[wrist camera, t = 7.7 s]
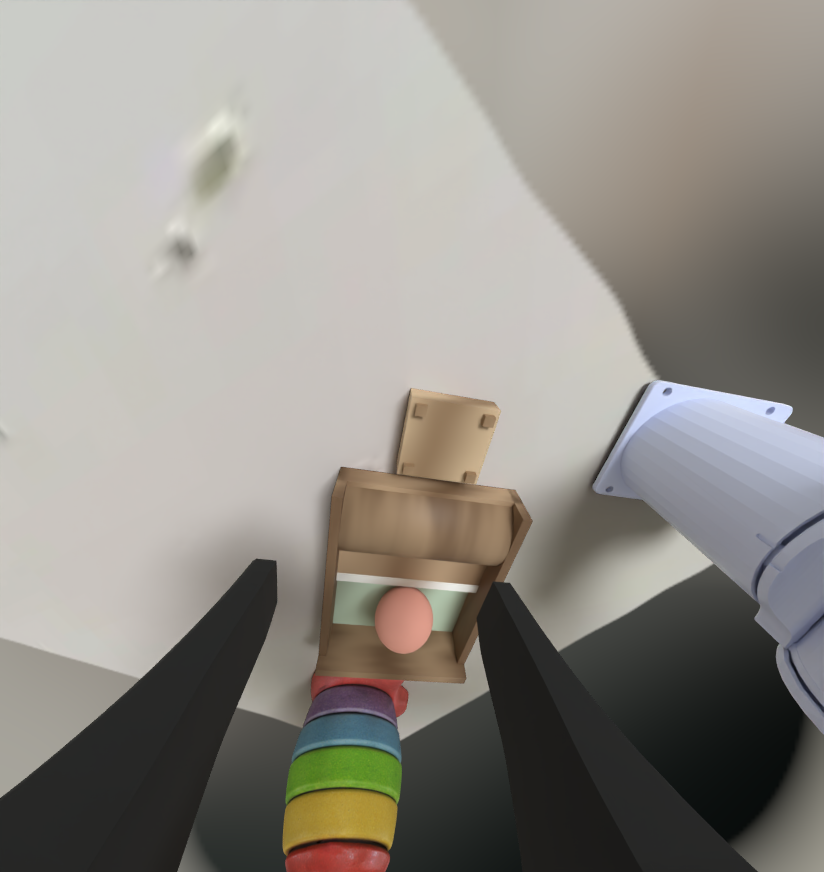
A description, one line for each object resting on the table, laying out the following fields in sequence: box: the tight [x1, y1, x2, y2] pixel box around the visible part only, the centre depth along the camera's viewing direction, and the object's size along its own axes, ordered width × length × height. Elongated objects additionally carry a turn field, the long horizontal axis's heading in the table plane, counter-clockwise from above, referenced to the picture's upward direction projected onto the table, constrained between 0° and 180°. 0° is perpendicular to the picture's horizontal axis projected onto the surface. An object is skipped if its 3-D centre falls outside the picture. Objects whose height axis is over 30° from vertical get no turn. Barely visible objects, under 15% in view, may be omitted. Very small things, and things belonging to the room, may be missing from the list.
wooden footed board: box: [397, 388, 501, 484], centre depth 18 cm, size 5×5×2 cm
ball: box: [375, 586, 433, 654], centre depth 23 cm, size 4×4×4 cm
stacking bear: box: [283, 673, 408, 872], centre depth 23 cm, size 11×10×18 cm
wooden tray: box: [315, 467, 533, 683], centre depth 23 cm, size 12×17×7 cm
